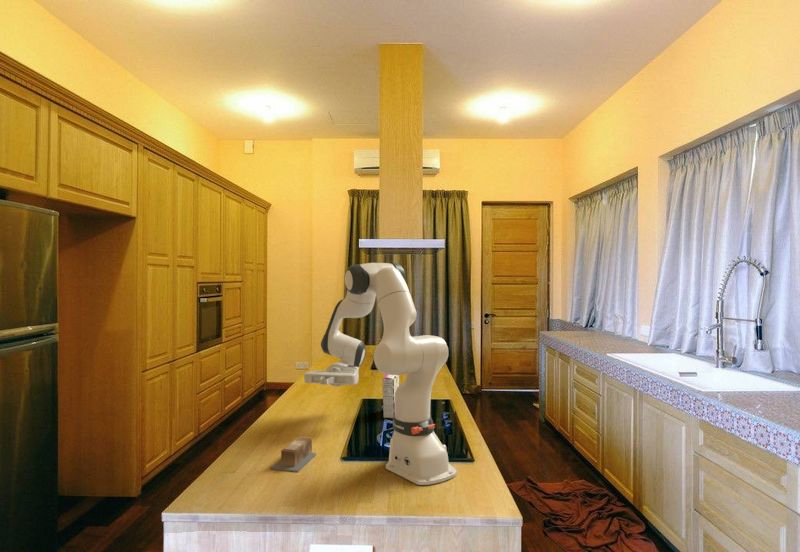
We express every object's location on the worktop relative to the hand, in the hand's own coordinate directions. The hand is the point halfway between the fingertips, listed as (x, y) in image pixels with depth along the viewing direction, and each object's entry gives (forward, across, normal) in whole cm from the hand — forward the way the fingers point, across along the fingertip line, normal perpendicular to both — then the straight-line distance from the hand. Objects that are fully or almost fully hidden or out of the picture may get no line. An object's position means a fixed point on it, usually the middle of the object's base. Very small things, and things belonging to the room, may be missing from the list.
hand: (323, 382), depth 160 cm
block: (+14, 0, +17) cm, 22 cm away
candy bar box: (-30, +17, +20) cm, 40 cm away
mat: (+22, -1, +20) cm, 29 cm away
